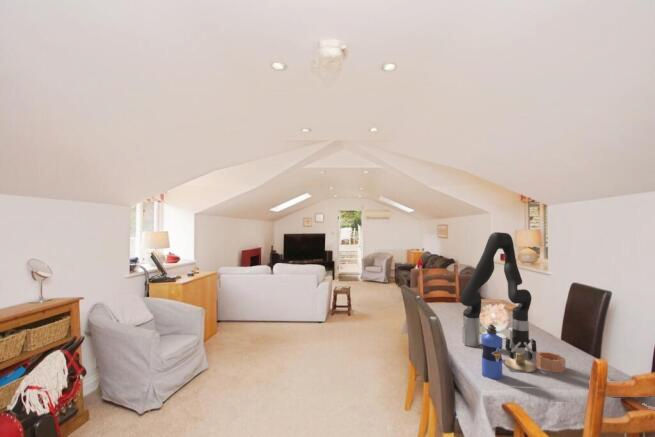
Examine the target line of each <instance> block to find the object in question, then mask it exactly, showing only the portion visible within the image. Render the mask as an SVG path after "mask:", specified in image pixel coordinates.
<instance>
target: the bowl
mask: <svg viewBox="0 0 655 437" xmlns="http://www.w3.org/2000/svg"><path fill="white" fill-rule="evenodd" d="M535 365H536V367H537V368H539V369H540V370H544V371H547V372H550V373H563V372H565V371H566V358H565V357H563V356H562V355H560V354H558V353H554V352H550V351H539V352H536V353H535Z"/></svg>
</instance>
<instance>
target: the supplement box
mask: <svg viewBox="0 0 655 437" xmlns="http://www.w3.org/2000/svg"><path fill="white" fill-rule="evenodd" d="M512 337H513V336H512V327H508V339H512ZM512 344H513V342H511V343H510V347H511V345H512ZM513 352H514V353H515V354H516V353H522V354H524V355H525V354H526V347H525V348H518V347H517V349H515V350H514V351H513Z"/></svg>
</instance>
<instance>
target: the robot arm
mask: <svg viewBox="0 0 655 437" xmlns="http://www.w3.org/2000/svg"><path fill="white" fill-rule="evenodd" d="M483 250H484V251H483V253H482V255H481V257H480V259H479V261H478V263H477V264H476V266H475V268H474V271H473V273H472V275H471V276H470V278H469V280H468V282H467V284H466V285H465V288H464V289H463V290H462V292H461V293H460V298H459V300H460V302H461V304H462V305H463V306H465V307H466V308H465V309H464V310H463V312H462V313H463V314H462V315H463V317H462V318H463V319H462V320H463V321H462V323H463V324H462V325H463V326H462V329H461V330H462V332H461V333H462V343H463V345H464V346H468V347H475V348H476V347H477V348H478V347H479V346H480V344H481V342H480V338H481V336H480V328H481V327H480V314H481V312H482V296H481V295H482V294H480V292H479V290H480V288H482V287H483V286H484V285H485V284H486V283H487V282H488V281H489V280H490V278H491V277H492V275H493V273H494V271H495V255H496V253H497V252H498V251H499V250H502V251H503V253H504V254H503V255H504V264H503V272H504V275H505V279H506V282H507V296H508V299H509V301H510V302H511V303H512V304H517V306H515V307H513V308H512V322H511V328H512V336H513V337H512V339H509V337H506V338H505V348H504V349H505V350H506V351H508V352H509V358H511V359H514V358H515V357H514V356H515V354H514V353H515V352H513V351H514V350H515V349H517V347H518V348H525V349H526V350H527V360H528V361H532V360H533V353H537V351H538V350H537V341H536V340H535V339H534V338H531V339H530V326H529V325H530V324H529V311H530V307H531V304H532V295H531V293H530V291H529V290H528V289H518V286H520V285H522V284H523V279H522V277H521V273H520V270H519V267H518V264H517V259H516V252H515V246H514V240H513V238H512V236H511V234H509V233H507V232H498V231H497V232H496V231H495V232H492V233H491V234H490V235H489V237H488V239H487V242H486V245H485V248H484V249H483ZM511 342H513V344H512V345H511V347H510V343H511ZM529 344H530V345H531V347H530V346H529Z"/></svg>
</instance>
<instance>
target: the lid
mask: <svg viewBox="0 0 655 437" xmlns="http://www.w3.org/2000/svg"><path fill="white" fill-rule="evenodd" d="M504 360H505V364H506V366H507V367H509V368H511V369H513V370H516V371H520V372H534V371H536V368H537V365H536V363H534V362H532V361H530V360H528V359H526V355H525V354H524V353H515V357H514V359H511V357H509V358H507V359H506V358H505V359H504ZM529 361H530V362H529ZM506 366H505V367H506ZM507 367H506V368H507Z"/></svg>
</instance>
